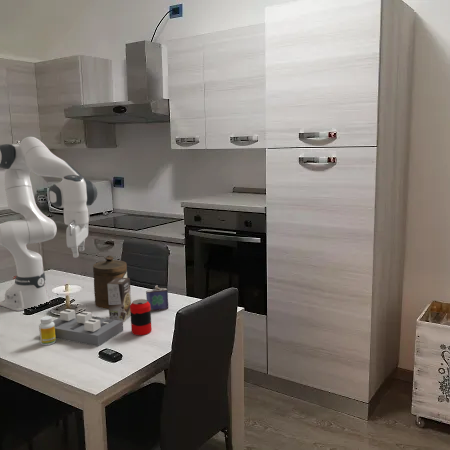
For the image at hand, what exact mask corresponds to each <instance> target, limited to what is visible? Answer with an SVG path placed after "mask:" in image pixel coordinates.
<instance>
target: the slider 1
mask: <svg viewBox="0 0 450 450" xmlns="http://www.w3.org/2000/svg"><path fill="white" fill-rule="evenodd" d="M75 314H76V310H75V309H69V308H66V309H63V310H62V311H60V312H59V318H60V320H65V321H70V320H72V319H74V318H76V316H75Z"/></svg>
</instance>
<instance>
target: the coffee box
mask: <svg viewBox="0 0 450 450" xmlns="http://www.w3.org/2000/svg"><path fill="white" fill-rule="evenodd" d="M107 285H108V302H109V309H108V314H109V315H108V317H109V318H108V319H113V320H119V321H123V323H124V322H126V321H127V320H128V319H129V318H131V314H130V305H131V304H132V294H131V293H132V291H131V279H130V277H127V278H115V279H114V280H112V281H111V282H109V283H108V284H107Z"/></svg>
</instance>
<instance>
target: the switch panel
mask: <svg viewBox="0 0 450 450" xmlns="http://www.w3.org/2000/svg"><path fill="white" fill-rule="evenodd" d="M77 314H78V313H75V316H76V315H77ZM92 319H97V320H100V326H101V328H99V329H98V330H96V331H94V332H92V331H86V330H85V326H84V324H83V323H77V317H76V318H74V319H72V320H70V321H65V320H60V317H58V318H56V319H52V322H54V324H55V334H56V340H62V341H69V342H74V343H79V344H84V345H89V346H94V347H100V346H102V345H103V344H105V343H107V342H108V341H110V340H111V339H113V338H115V337H116V336H118V335H119V334H121V333H122V332H124V322H123V321H119V320H113V319H110V318H105V317H99V316H93V315H92Z"/></svg>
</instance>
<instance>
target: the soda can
mask: <svg viewBox="0 0 450 450" xmlns="http://www.w3.org/2000/svg"><path fill="white" fill-rule="evenodd" d="M151 313H152V311H151V309H150V303H149V302H148V301H147V299H142V298H141V299H135V300H133V301H131V305H130V314H131V316H130V326H131V327H130V328H131V333H132V334H133V335H134V336H144V335H148V334H150V333H151V332H152V314H151Z"/></svg>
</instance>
